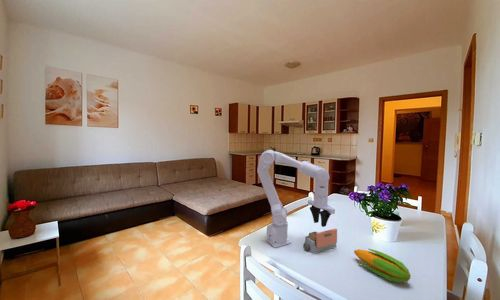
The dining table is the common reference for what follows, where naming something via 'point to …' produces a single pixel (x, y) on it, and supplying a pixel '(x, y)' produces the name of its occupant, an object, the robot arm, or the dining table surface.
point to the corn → (383, 265)
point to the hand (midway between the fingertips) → (319, 224)
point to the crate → (313, 236)
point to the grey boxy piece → (312, 248)
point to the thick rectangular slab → (326, 238)
